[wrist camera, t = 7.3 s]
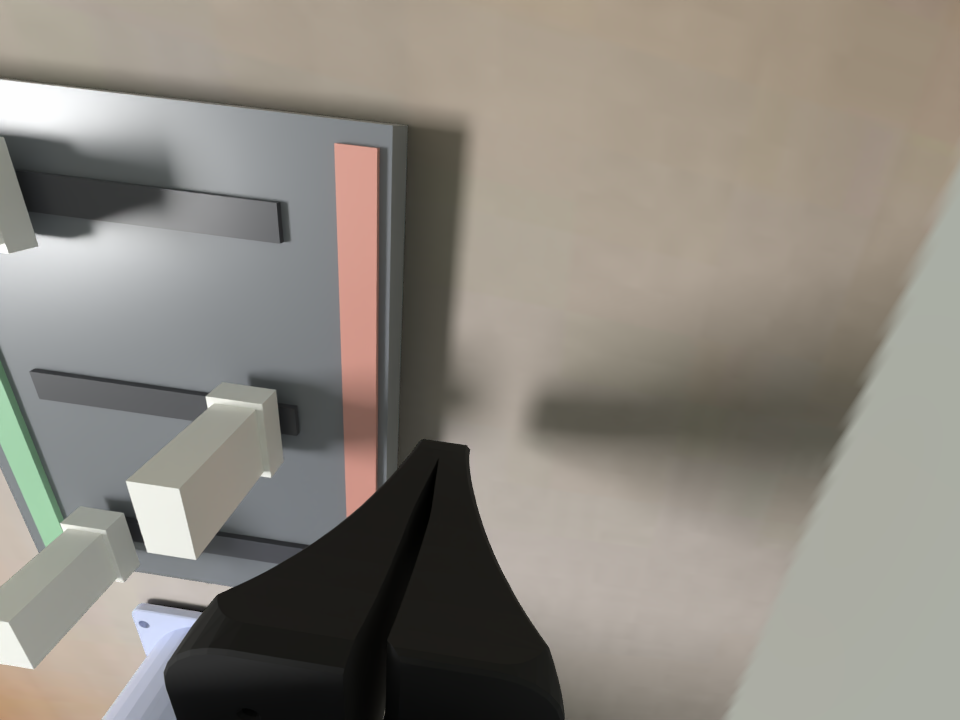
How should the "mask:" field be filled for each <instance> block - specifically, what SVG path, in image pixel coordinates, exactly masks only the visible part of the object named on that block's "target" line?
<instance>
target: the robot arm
mask: <svg viewBox="0 0 960 720" xmlns="http://www.w3.org/2000/svg"><path fill="white" fill-rule="evenodd" d="M469 454H470V449H469V448H468V447H467V445H461V444H454V443H447V442H440V441H433V440H426V439H423V440H421V441H420V442H419V443H418V444H417V446H416V447H415V448H414V450H413V451H412V452H411V454H410V455H409V456H408V457H407V458H406V460H405V461H404V462H403V463H402V464H401V466H400V467H399V468H398V469H397V470H396V471H395V472H394V473H393V474H392V476H391V477H390V478H389V479H388V480H387V481H386V482H385V483H384V484H383V485H382V486H381V487H380V488H379V489H378V490H377V491H376V492H375V493H374V494H373V495H372V496H371V497H370V498H369V499H368V500H367V501H366V502H364V503H363V504H362V505H361V506H360V507H359V508H358V509H357V510H356V511H354V512H353V513H352V514H351V515H350V516H348V517H347V518H346V519H345V520H343V521H342V522H341V523H340V524H338V525H337V526H336V527H335V528H333V529H332V530H330V531H329V532H328V533H326V534H325V535H323V536H322V537H321V538H319V539H318V540H317V541H315V542H314V543H312V544H311V545H309V546H308V547H306V548H305V549H303V550H302V551H300V552H298V553H297V554H295V555H293V556H292V557H290V558H288V559H286V560H285V561H283V562H281V563H280V564H278V565H276V566H275V567H273V568H271V569H269V570H268V571H266V572H264V573H262V574H260V575H258V576H256V577H254V578H252V579H250V580H248V581H246V582H244V583H241V584H239V585H237V586H235V587H233V588H231V589H229V590H227V591H225V592H222V593H220V594H218V595H217V596H216V597H215V598H214V599H213V601H212V602H211V603H210V604H209V606H208V607H207V608H206V609H205V610H204V611H203V612H197V611H191V610H185V609H179V608H173V607H166V606H160V605H154V604H148V603H141V604H138V605H137V606H136V608H135V609H134V610H133V611H132V617H133V620H134V622H135V625H136V628H137V631H138V634H139V636H140V639H141V642H142V645H143V648H144V651H145V653H146V656H147V657H146V658H145V660H144V661H143V663H142V664H141V665H140V667H139V668H138V670H137V671H136V672H135V674H134V675H133V676H132V678H131V679H130V681H129V682H128V683H127V685H126V686H125V688H124V689H123V690H122V692H121V693H120V694H119V696H118V697H117V699H116V700H115V701H114V703H113V704H112V706H111V707H110V708H109V710H108V711H107V713H106V714H105V715H104V717H103V718H102V719H101V720H564V718H565V717H564V706H563V700H562V694H561V689H560V684H559V680H558V676H557V673H556V669H555V665H554V662H553V659H552V655H551V652H550V649H549V647H548V645H547V644H546V643H545V641H544V640H543V638H542V637H541V636H540V634H539V633H538V631H537V630H536V628H535V627H534V625H533V624H532V622H531V621H530V619H529V618H528V616H527V615H526V613H525V611H524V610H523V608H522V607H521V605H520V603H519V602H518V600H517V598H516V597H515V595H514V593H513V591H512V589H511V587H510V585H509V583H508V582H507V580H506V578H505V576H504V574H503V572H502V570H501V568H500V566H499V564H498V562H497V559H496V557H495V555H494V553H493V550H492V548H491V545H490V543H489V541H488V538H487V535H486V533H485V530H484V527H483V524H482V521H481V518H480V514H479V511H478V507H477V504H476V500H475V495H474V491H473V487H472V481H471V475H470V467H469ZM384 711H385V715H384ZM383 716H384V719H383Z"/></svg>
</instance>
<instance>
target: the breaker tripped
mask: <svg viewBox="0 0 960 720" xmlns="http://www.w3.org/2000/svg"><path fill="white" fill-rule="evenodd" d="M206 402H207V407H208V409H207V410H206V411H204V412H203V413H202V414H201V415H200V416H199V417H198V418H197V419H195V420H194V421H193V422H192V423H191V424H190V425H189V426H187V427H186V428H185V429H184V430H183V431H182V432H181V433H180V434H178V435H177V436H176V437H175V438H174V439H173V440H172V441H170V442H169V443H168V444H167V445H166V446H165V447H164V448H162V449H161V450H160V451H159V452H158V453H157V454H156V455H155V456H153V457H152V458H151V459H150V460H149V461H148V462H147V463H145V464H144V465H143V466H142V467H141V468H140V469H139V470H137V471H136V472H135V473H134V474H133V475H132V476H131V477H130V478H128V479H127V480H126V484H127V487H128V490H129V494H130V497H131V500H132V504H133V507H134V510H135V513H136V517H137V520H138V523H139V527H140V530H141V533H142V536H143V540H144V543H145V546H146V550H147V552H148V553H154V554H161V555H167V556H173V557H180V558H186V559H193V560H197V558H198V557H199V556H200V554H201V553H202V552H203V551H204V549H205V548H206V547H207V545H208V544H209V543H210V541H211V540H212V539H213V538H214V536H215V535H216V534H217V532H218V531H219V530H220V528H221V527H222V526H223V524H224V523H225V522H226V521H227V519H228V518H229V517H230V515H231V514H232V513H233V511H234V510H235V509H236V508H237V506H238V505H239V504H240V502H241V501H242V500H243V498H244V497H245V496H246V495H247V493H248V492H249V491H250V489H251V488H252V487H253V485H254V484H255V483H256V481H257V480H258V479H259V478H260V476H262V477H269V478H272V476H273V475H274V473H275V472H276V471H277V469H278V468H279V467H280V465H281V464H282V463H283V461H284V459H283V450H282V441H281V431H280V422H279V412H278V403H277V394H276V390H274V389H267V388H260V387H253V386H246V385H239V384H232V383H225V382H222V383H221V384H220V385H218V386H217V387H216V388H215V389H214V390H212V391H211V392H210V393H209V394H208V395H206Z"/></svg>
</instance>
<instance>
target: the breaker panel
mask: <svg viewBox="0 0 960 720" xmlns="http://www.w3.org/2000/svg"><path fill="white" fill-rule="evenodd" d="M0 137H4V139H5V142H6V145H7V148H8V152H9V155H10V158H11V161H12V164H13V167H14V170H15V174H16V177H17V180H18V183H19V186H20V189H21V192H22V195H23V199H24V202H25V205H26V208H27V211H28V214H29V217H30V221H31V224H32V227H33V230H34V233H35V236H36V239H37V242H38V247H34V248H30V249H26V250H22V251H18V252H14V253H10V254H7V253H0V468H1V470H2V472H3V475H4V477H5V479H6V481H7V483H8V486H9V488H10V490H11V492H12V494H13V497H14V499H15V501H16V503H17V506H18V508H19V510H20V512H21V514H22V517H23V519H24V521H25V523H26V526H27V528H28V530H29V532H30V534H31V537H32V539H33V541H34V543H35V545H36V548H37V550H38V552H39V553H40V552H41V551H42V550H43V549H44V548H46V547H47V546H48V545H49V544H50V543H51V542H52V541H54V540H55V539H56V538H57V537H58V536H59V535H60V534H62V533H63V530H62V527H61V525H60V523H61V522H62V521H63V520H64V519H66V518H67V517H68V516H69V515H70V514H71V513H73V512H74V511H75V510H76V509H77V508H79V507H80V506H82V507H88V508H95V509H101V510H108V511H114V512H121V513H124V515H125V518H126V522H127V525H128V528H129V531H130V534H131V537H132V540H133V544H134V547H135V550H136V553H137V556H138V559H139V562H140V565H139V566H138V567H137V568H136V569H135V572H142V573H148V574H154V575H161V576H167V577H173V578H180V579H186V580H192V581H199V582H205V583H211V584H218V585H224V586H230V587H235V586H237V585H239V584H241V583H244V582H246V581H248V580H250V579H252V578H254V577H256V576H258V575H260V574H262V573H264V572H266V571H268V570H269V569H271V568H273V567H275V566H276V565H278V564H280V563H281V562H283V561H285V560H286V559H288V558H290V557H292V556H293V555H295V554H297V553H298V552H300V551H302V550H303V549H305V548H306V547H308V546H309V545H311V544H312V543H314V542H315V541H317V540H318V539H319V538H321V537H322V536H323V535H325V534H326V533H328V532H329V531H330V530H332V529H333V528H335V527H336V526H337V525H338V524H340V523H341V522H342V521H343V520H345V519H346V518H347V517H348V516H350V515H351V514H352V513H353V512H354V511H356V510H357V509H358V508H359V507H360V506H361V505H362V504H363V503H364V502H366V501H367V500H368V499H369V498H370V497H371V496H372V495H373V494H374V493H375V492H376V491H377V490H378V489H379V488H380V487H381V486H382V485H383V484H384V483H385V482H386V481H387V480H388V479H389V478H390V477H391V476H392V474H393V473H394V472H395V471H396V470H397V466H398V433H399V400H400V368H401V335H402V303H403V270H404V238H405V205H406V172H407V140H408V125H401V124H392V123H384V122H375V121H367V120H358V119H350V118H341V117H333V116H324V115H315V114H307V113H298V112H290V111H281V110H273V109H264V108H256V107H247V106H239V105H230V104H221V103H213V102H204V101H196V100H187V99H179V98H170V97H162V96H153V95H145V94H136V93H127V92H119V91H110V90H102V89H93V88H85V87H76V86H68V85H59V84H51V83H42V82H34V81H25V80H16V79H8V78H0ZM222 382H225V383H232V384H239V385H246V386H253V387H260V388H267V389H274V390H276V394H277V403H278V412H279V422H280V431H281V441H282V450H283V459H284V461H283V463H282V464H281V465H280V467H279V468H278V469H277V471H276V472H275V473H274V475H273V476H272V478H269V477H262V476H260V478H259V479H258V480H257V481H256V483H255V484H254V485H253V487H252V488H251V489H250V491H249V492H248V493H247V495H246V496H245V497H244V498H243V500H242V501H241V502H240V504H239V505H238V506H237V508H236V509H235V510H234V511H233V513H232V514H231V515H230V517H229V518H228V519H227V521H226V522H225V523H224V524H223V526H222V527H221V528H220V530H219V531H218V532H217V534H216V535H215V536H214V538H213V539H212V540H211V541H210V543H209V544H208V545H207V547H206V548H205V549H204V551H203V552H202V553H201V554H200V556H199V557H198V558H197V560H193V559H186V558H180V557H173V556H167V555H161V554H154V553H148V552H147V550H146V546H145V543H144V540H143V536H142V533H141V530H140V527H139V523H138V520H137V517H136V513H135V510H134V507H133V504H132V500H131V497H130V494H129V490H128V487H127V484H126V480H127V479H128V478H130V477H131V476H132V475H133V474H134V473H135V472H136V471H137V470H139V469H140V468H141V467H142V466H143V465H144V464H145V463H147V462H148V461H149V460H150V459H151V458H152V457H153V456H155V455H156V454H157V453H158V452H159V451H160V450H161V449H162V448H164V447H165V446H166V445H167V444H168V443H169V442H170V441H172V440H173V439H174V438H175V437H176V436H177V435H178V434H180V433H181V432H182V431H183V430H184V429H185V428H186V427H187V426H189V425H190V424H191V423H192V422H193V421H194V420H195V419H197V418H198V417H199V416H200V415H201V414H202V413H203V412H204V411H206V410H207V409H208V407H207V402H206V395H208V394H209V393H210V392H211V391H212V390H214V389H215V388H216V387H217V386H218V385H220V384H221V383H222Z"/></svg>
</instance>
